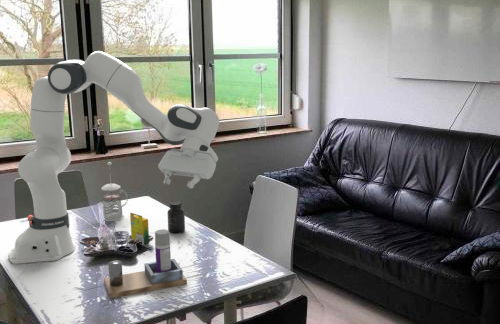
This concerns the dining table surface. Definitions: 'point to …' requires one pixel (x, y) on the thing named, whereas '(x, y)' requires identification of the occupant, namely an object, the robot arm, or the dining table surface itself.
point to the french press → (112, 213)
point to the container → (162, 251)
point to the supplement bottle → (176, 218)
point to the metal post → (115, 273)
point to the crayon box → (139, 228)
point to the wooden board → (147, 280)
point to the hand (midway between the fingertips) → (177, 185)
